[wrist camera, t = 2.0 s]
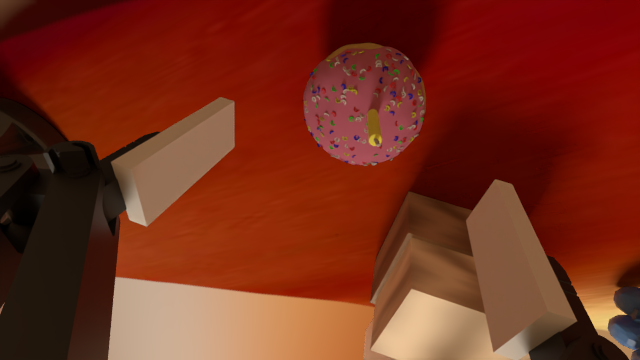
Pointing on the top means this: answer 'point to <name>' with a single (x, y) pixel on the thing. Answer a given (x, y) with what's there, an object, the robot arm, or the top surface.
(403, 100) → the cupcake
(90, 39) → the top surface
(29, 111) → the robot arm
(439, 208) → the block bottom
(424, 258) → the block top
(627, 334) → the grapes
